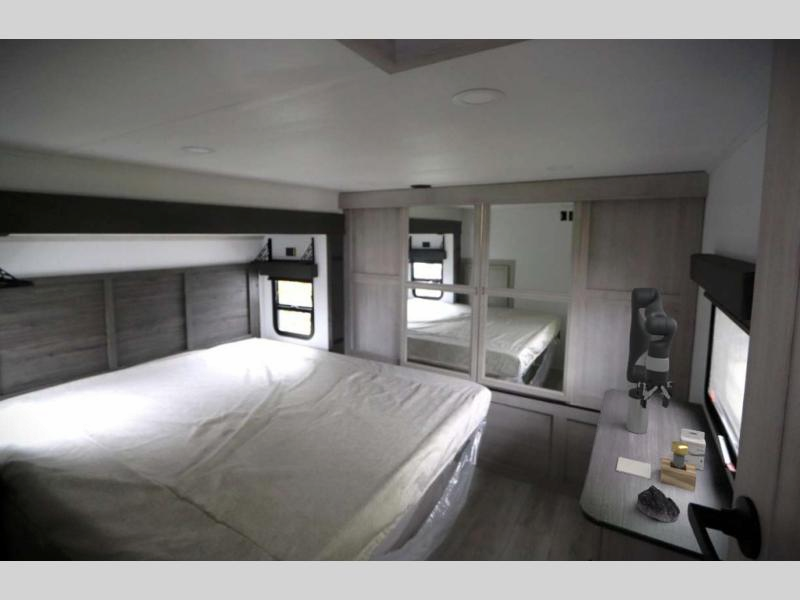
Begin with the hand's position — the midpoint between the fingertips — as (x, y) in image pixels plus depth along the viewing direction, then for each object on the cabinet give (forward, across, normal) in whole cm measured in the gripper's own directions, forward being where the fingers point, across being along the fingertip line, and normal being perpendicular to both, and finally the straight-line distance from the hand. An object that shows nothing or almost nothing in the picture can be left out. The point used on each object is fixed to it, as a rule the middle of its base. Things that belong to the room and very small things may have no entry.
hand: (654, 407), depth 163 cm
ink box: (+29, -22, -6) cm, 37 cm away
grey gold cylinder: (+29, -9, +4) cm, 30 cm away
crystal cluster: (+29, +11, +22) cm, 38 cm away
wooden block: (+29, -9, +4) cm, 30 cm away
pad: (+29, +3, -5) cm, 29 cm away
